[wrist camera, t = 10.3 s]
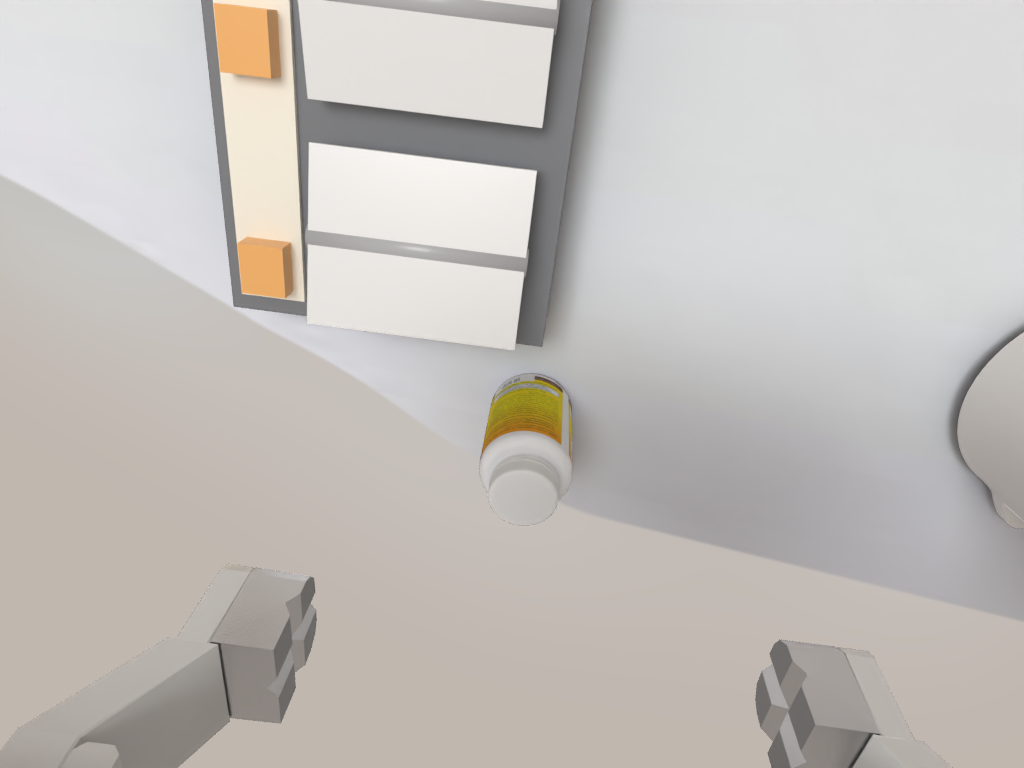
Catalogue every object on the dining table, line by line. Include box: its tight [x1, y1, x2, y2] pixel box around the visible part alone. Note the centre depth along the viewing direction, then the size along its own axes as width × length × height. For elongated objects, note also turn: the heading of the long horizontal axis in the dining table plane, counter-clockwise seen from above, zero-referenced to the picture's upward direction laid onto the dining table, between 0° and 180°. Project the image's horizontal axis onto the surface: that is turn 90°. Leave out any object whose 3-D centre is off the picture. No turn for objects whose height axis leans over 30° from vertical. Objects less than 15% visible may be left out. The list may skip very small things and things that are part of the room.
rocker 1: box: [297, 0, 560, 128], centre depth 28 cm, size 11×9×1 cm
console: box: [201, 0, 592, 347], centre depth 34 cm, size 18×22×6 cm
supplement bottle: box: [479, 374, 572, 526], centre depth 41 cm, size 6×6×10 cm
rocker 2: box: [305, 142, 537, 350], centre depth 33 cm, size 11×9×1 cm
